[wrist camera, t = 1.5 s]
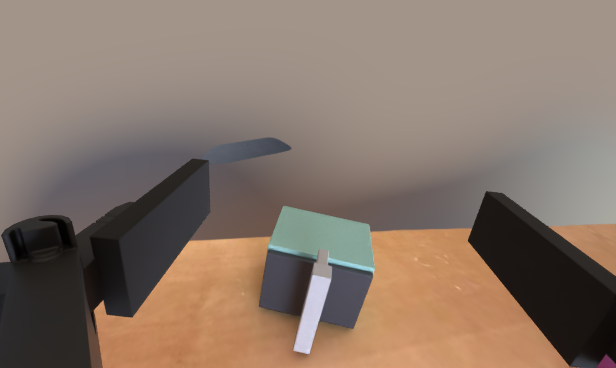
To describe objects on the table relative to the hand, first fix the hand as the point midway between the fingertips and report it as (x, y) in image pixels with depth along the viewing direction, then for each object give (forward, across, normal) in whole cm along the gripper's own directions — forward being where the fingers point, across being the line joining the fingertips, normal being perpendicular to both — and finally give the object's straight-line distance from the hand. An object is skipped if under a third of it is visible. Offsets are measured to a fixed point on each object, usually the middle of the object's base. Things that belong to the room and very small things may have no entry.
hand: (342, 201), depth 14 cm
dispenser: (+16, 0, -21) cm, 26 cm away
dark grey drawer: (+13, 0, -20) cm, 24 cm away
